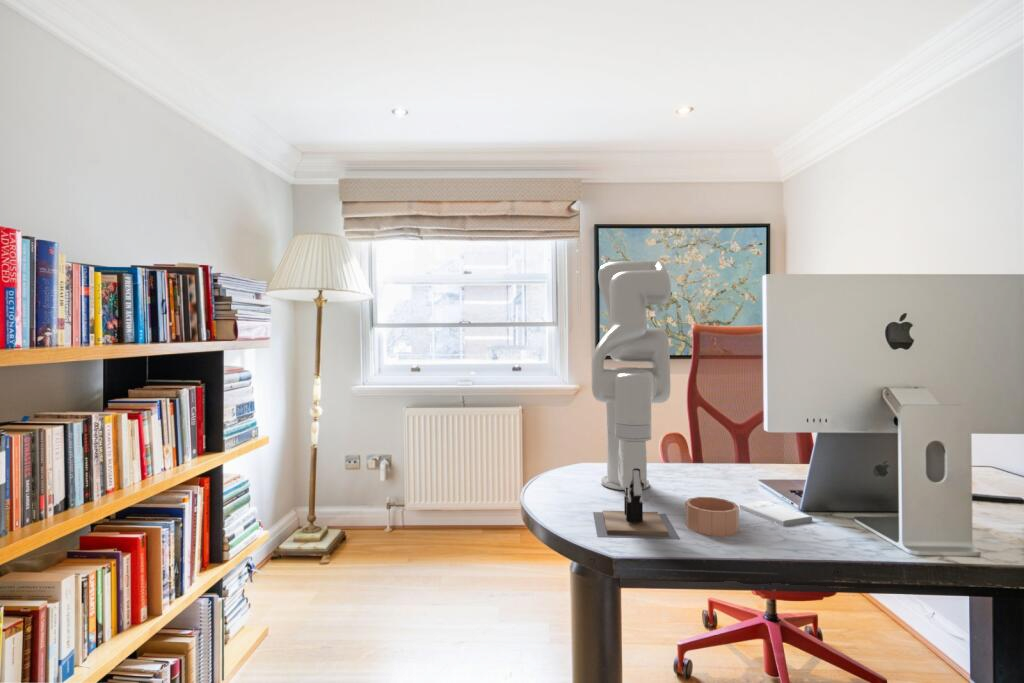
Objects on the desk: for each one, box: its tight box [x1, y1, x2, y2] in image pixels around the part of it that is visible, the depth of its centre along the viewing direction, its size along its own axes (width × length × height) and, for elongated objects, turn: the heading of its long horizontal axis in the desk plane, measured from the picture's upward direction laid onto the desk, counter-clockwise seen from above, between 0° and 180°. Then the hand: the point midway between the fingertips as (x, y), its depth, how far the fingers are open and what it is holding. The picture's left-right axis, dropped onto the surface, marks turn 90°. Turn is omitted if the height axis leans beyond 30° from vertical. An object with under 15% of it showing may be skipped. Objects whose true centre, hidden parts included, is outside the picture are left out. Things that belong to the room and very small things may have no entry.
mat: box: [592, 511, 681, 540], centre depth 111 cm, size 15×16×1 cm
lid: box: [602, 495, 668, 536], centre depth 112 cm, size 12×12×6 cm
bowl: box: [685, 496, 740, 537], centre depth 110 cm, size 10×10×5 cm
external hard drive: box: [738, 500, 813, 527], centre depth 118 cm, size 2×8×12 cm
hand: (633, 517), depth 112 cm, fingers closed on lid, 3 cm apart
